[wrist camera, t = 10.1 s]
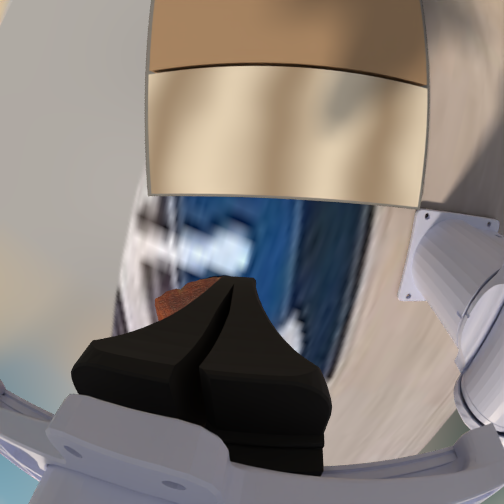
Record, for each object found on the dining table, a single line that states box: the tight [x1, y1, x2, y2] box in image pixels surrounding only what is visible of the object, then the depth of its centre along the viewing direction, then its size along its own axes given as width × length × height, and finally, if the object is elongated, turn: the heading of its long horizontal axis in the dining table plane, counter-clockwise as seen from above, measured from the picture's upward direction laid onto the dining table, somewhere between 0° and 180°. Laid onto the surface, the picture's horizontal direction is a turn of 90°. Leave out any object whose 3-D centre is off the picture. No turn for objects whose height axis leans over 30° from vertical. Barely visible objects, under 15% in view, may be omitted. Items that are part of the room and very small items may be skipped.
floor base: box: [145, 0, 429, 210], centre depth 16 cm, size 20×19×2 cm
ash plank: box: [148, 66, 427, 207], centre depth 17 cm, size 18×8×2 cm, turn 89°
